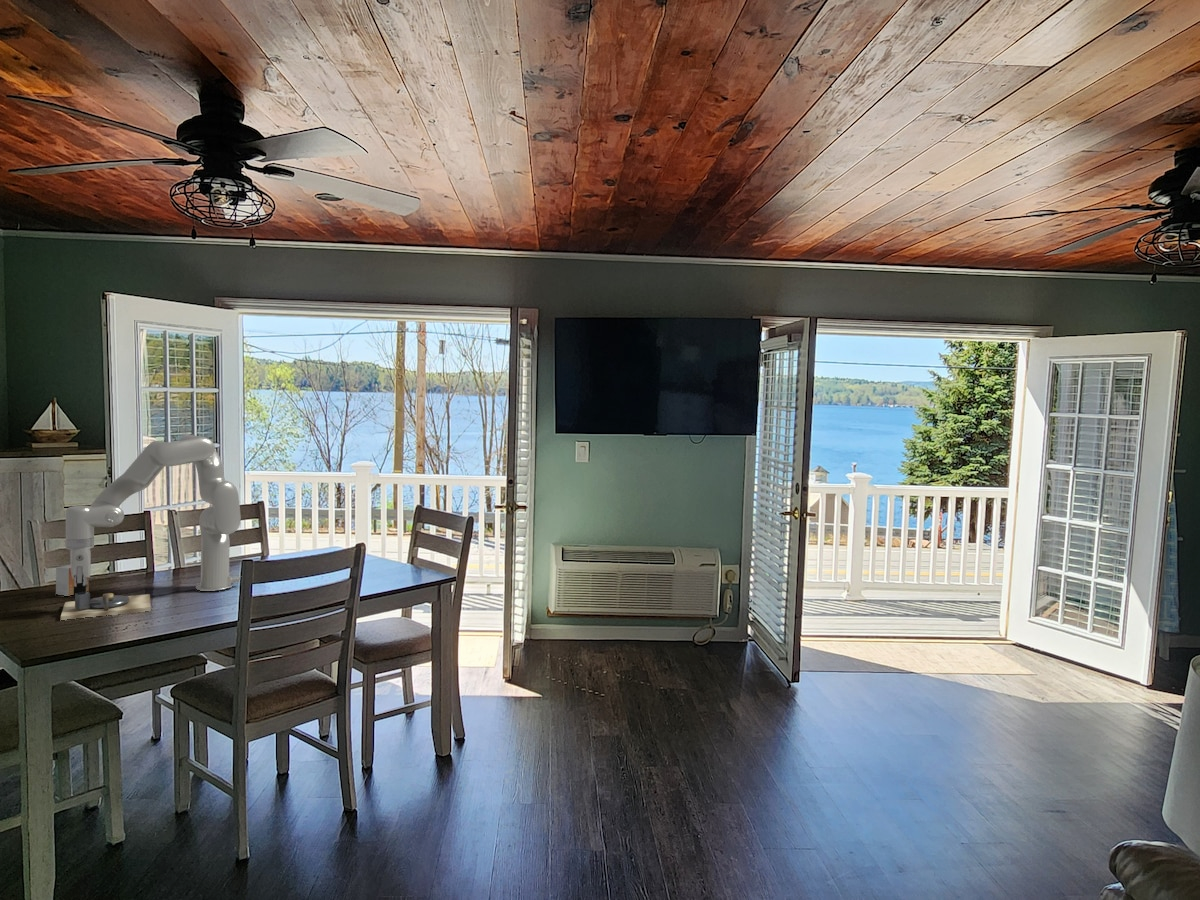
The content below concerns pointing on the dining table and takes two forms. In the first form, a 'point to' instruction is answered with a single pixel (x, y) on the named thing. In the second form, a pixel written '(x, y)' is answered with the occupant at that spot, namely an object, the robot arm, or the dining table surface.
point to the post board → (133, 606)
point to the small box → (66, 581)
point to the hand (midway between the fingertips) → (79, 597)
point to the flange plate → (97, 601)
